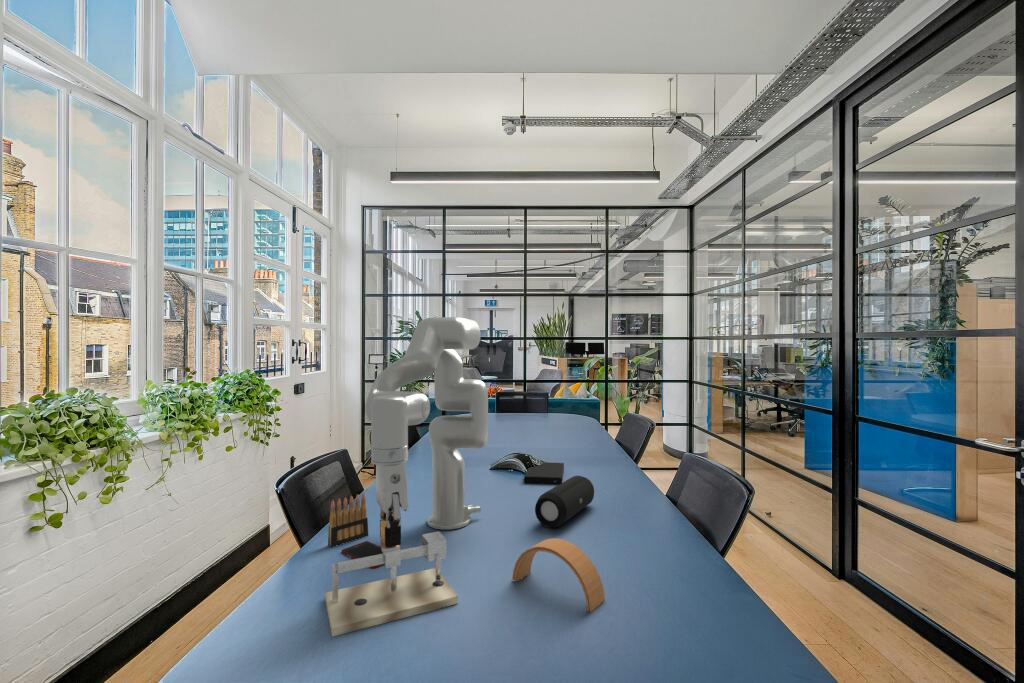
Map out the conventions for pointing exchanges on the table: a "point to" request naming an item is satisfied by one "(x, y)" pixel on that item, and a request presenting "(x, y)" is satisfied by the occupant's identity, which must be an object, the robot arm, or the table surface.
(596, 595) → the arch
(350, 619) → the hole plate
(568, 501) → the portable speaker
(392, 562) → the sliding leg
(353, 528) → the ammunition clip
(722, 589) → the table surface
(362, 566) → the frame
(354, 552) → the cell phone
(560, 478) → the external hard drive
